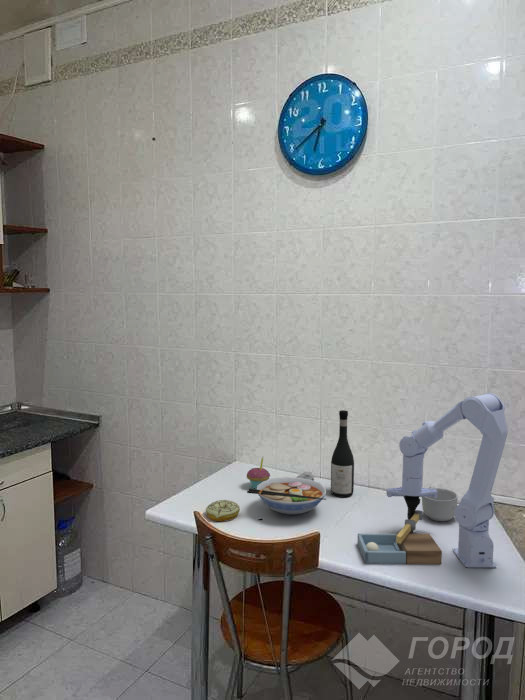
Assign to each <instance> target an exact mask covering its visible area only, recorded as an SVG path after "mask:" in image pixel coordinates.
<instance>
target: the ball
mask: <svg viewBox="0 0 525 700" xmlns="http://www.w3.org/2000/svg"><path fill="white" fill-rule="evenodd" d="M366 548H367V550H368V551H379V547H378V545H377V544H376V543H374V542H369V543H368V544H367V545H366Z"/></svg>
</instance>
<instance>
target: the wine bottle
mask: <svg viewBox="0 0 525 700" xmlns="http://www.w3.org/2000/svg"><path fill="white" fill-rule="evenodd" d="M338 413H339V414H338V416H339V433H338V435H339V436H338V440H337V444H336V446H335V447H334V450H333V453H332V456H331V461H330V492H331V494H332V495H334V496H336V497H341V498H347V497H350V496H352V495H353V494H354V491H355V490H354V486H355V485H354V483H355V478H354V477H355V460H354V455H353V452H352V449H351V445H350V443H349V440H348V439H349V438H348V416H349V411H348V410H339V412H338Z"/></svg>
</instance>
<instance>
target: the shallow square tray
mask: <svg viewBox="0 0 525 700" xmlns="http://www.w3.org/2000/svg"><path fill="white" fill-rule="evenodd" d="M396 536H397V534H396V533H357V546H359V547H358V549H359V552H360V554H361V557H362V559H363V562H364V564H375V563H376V564H381V565H382V564H383V565H384V564H386V565H387V564H388V565H389V564H392V565H394V564H397V565H398V564H399V565H403V564H404V565H405V564H407V563H406V552H405V551H401V550H400V549H399V547H398V545H397V543H396ZM369 542H374V543H376V544H377V545H378V547H379V551H368V550H367V548H366V545H367V544H368V543H369ZM376 564H375V565H376Z"/></svg>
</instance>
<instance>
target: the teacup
mask: <svg viewBox="0 0 525 700" xmlns="http://www.w3.org/2000/svg"><path fill="white" fill-rule="evenodd" d="M428 489H436V490H437V498H434V497H421V505H422V512H424V514H425V515H426V516H427V517H428V518H429V519H431V520H432V521H435V522H436V521H437V522H448V521H450V520H452V519H453V518H455V514H454V512H455V508H456V507H457V506H458V498H459V495H458V493H456V492H455V491H454V490H451V489H448V488H443V487H435V486H434V485H430V486H429V487H428Z"/></svg>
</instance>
